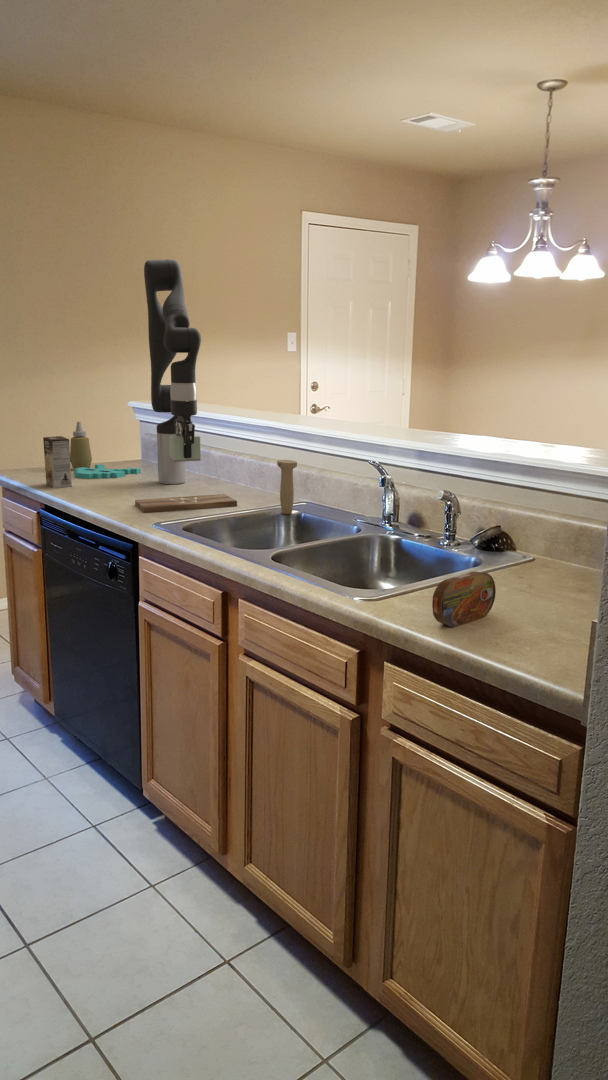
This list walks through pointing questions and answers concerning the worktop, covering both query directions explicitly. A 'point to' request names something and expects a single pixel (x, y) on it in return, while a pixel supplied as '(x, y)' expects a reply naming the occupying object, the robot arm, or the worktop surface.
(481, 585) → the tin
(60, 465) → the coffee box
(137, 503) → the walnut board
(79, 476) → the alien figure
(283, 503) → the handle
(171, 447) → the block
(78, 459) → the squeeze bottle
